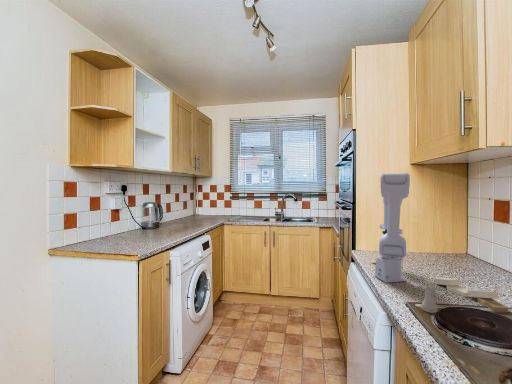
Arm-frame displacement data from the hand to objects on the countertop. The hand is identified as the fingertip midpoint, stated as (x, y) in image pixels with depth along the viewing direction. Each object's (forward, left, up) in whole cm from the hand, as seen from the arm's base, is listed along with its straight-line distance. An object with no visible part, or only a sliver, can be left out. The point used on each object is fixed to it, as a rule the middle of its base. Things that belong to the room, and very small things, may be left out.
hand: (390, 246), depth 127 cm
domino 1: (+5, -23, -8) cm, 24 cm away
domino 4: (+5, -39, -9) cm, 40 cm away
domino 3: (+5, -35, -8) cm, 37 cm away
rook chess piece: (-17, -40, -10) cm, 45 cm away
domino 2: (+5, -28, -9) cm, 29 cm away
